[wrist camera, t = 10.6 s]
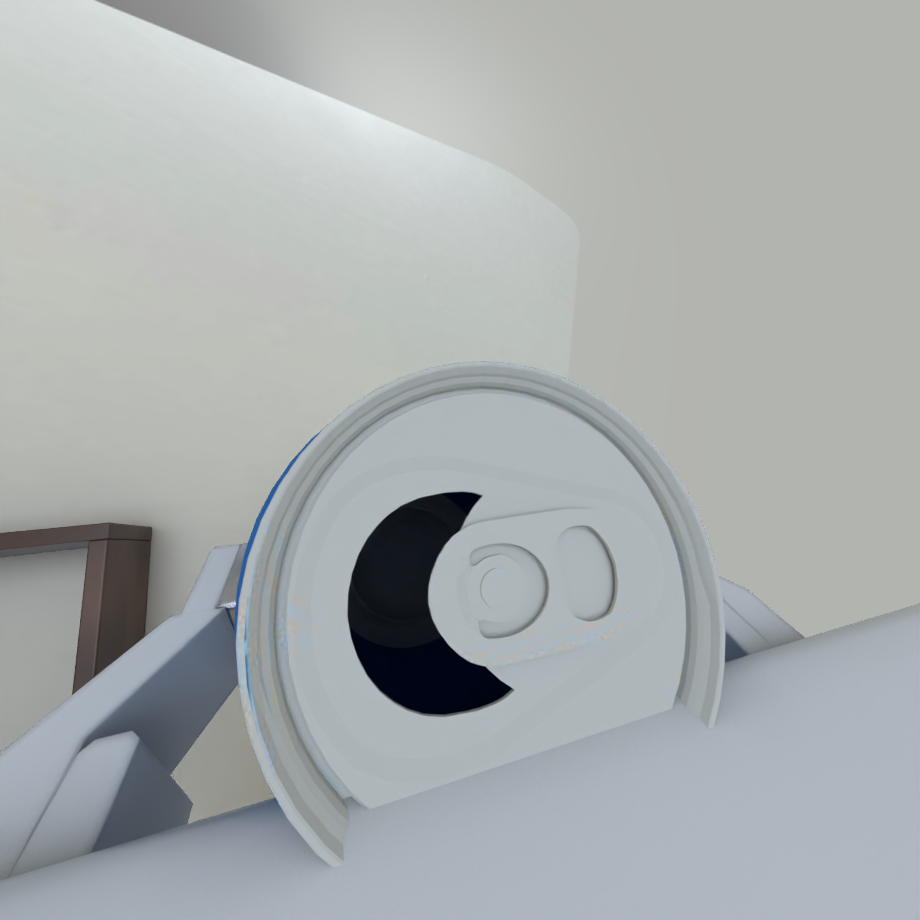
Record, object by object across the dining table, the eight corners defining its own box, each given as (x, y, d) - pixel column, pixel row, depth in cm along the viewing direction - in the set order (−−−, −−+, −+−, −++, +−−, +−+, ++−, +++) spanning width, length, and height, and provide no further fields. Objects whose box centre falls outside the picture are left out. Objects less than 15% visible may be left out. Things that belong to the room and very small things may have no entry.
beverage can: (324, 497, 15) (190, 320, 4) (465, 482, 17) (668, 336, 5) (333, 659, 13) (151, 1228, 2) (487, 624, 15) (828, 826, 4)
